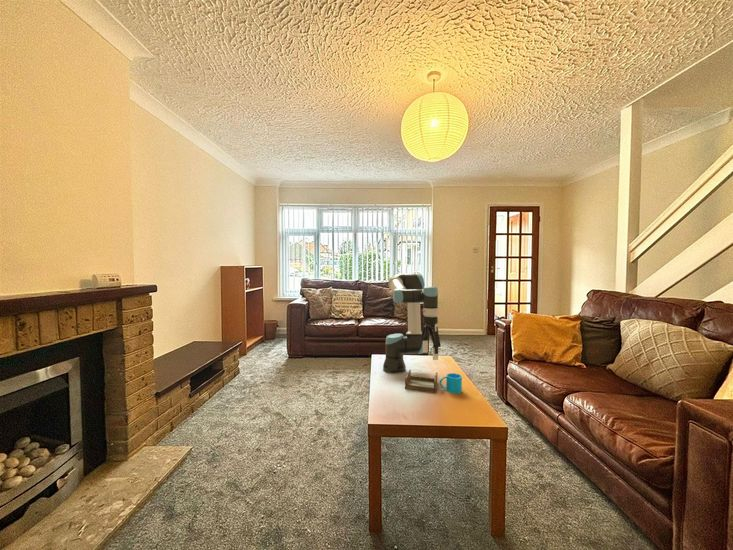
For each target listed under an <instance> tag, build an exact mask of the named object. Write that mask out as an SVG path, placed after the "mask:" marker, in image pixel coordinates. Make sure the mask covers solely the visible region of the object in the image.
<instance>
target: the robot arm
mask: <svg viewBox="0 0 733 550" xmlns="http://www.w3.org/2000/svg"><path fill="white" fill-rule="evenodd" d="M387 283H388V285H387V286H388V287H389V288H388V289H390V290H391V291H393V292H392V301H393V302H394V303H397V304H407V331H406V333H405V335H404V334H403V333H393V334H392V333H391V334H388V335H386V338H385V359H384V362H383V365H382V369H383V371H384V372H386V373H390V374H401V373H405V372H406V370H407V369H406V368H407V366H406V363H405V360H404V355H420V354H422V355H423V354H428V352H429V336H430V338H431V341H432V360H433V361H438V360H439V348H441V346H442V345H441V339H440V334H439V327H438V326H436V325H437V324H438V323H439V321H438V319H439V318H438V315H439V307H438V305H439V302H438V301H439V289H438V287H437V286H425V280H424V277H423V275H422V273H396V274H393V275H392V276H391V277H390V278H389V280H388V282H387ZM421 303H422V314H423V317H421ZM421 318H422V322H421ZM421 323H423V325H421Z"/></svg>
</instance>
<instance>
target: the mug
mask: <svg viewBox="0 0 733 550" xmlns="http://www.w3.org/2000/svg"><path fill="white" fill-rule="evenodd" d="M462 377H463V376H462V375H461V374H459V373H447V374H446V376H443V377H442V378H440V380H439V381H438V382H439V386H440V387H441V388H442V389H444V390H446V392H448V393H450V394H461V393H462V391H463V389H462V388H463V386H462V385H463V383H462V382H463V381H462V380H463V378H462ZM445 379H446V387H445V386H444V385H443V384H442V381H443V380H445Z"/></svg>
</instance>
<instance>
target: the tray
mask: <svg viewBox="0 0 733 550" xmlns="http://www.w3.org/2000/svg"><path fill="white" fill-rule="evenodd" d="M411 374H412V370H411V369H409V370H408V372H407V373H406V376H405V378H404V389H405V390H409V391H410V390H411V391H421V392H428V393H436V391H437V385H438V372H435V375H434V377H424V376H415V375H411Z"/></svg>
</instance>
